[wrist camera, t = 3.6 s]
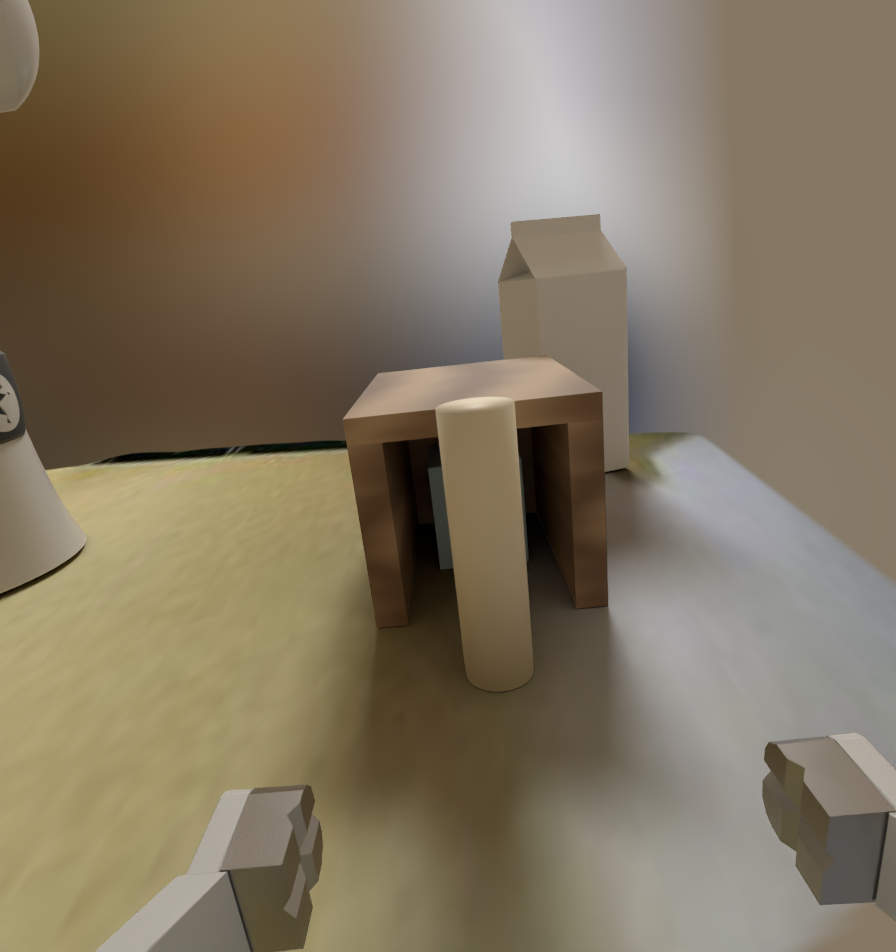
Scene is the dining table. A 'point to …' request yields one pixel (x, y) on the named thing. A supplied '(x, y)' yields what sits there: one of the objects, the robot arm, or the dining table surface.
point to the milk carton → (571, 312)
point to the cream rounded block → (484, 536)
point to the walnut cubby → (539, 445)
